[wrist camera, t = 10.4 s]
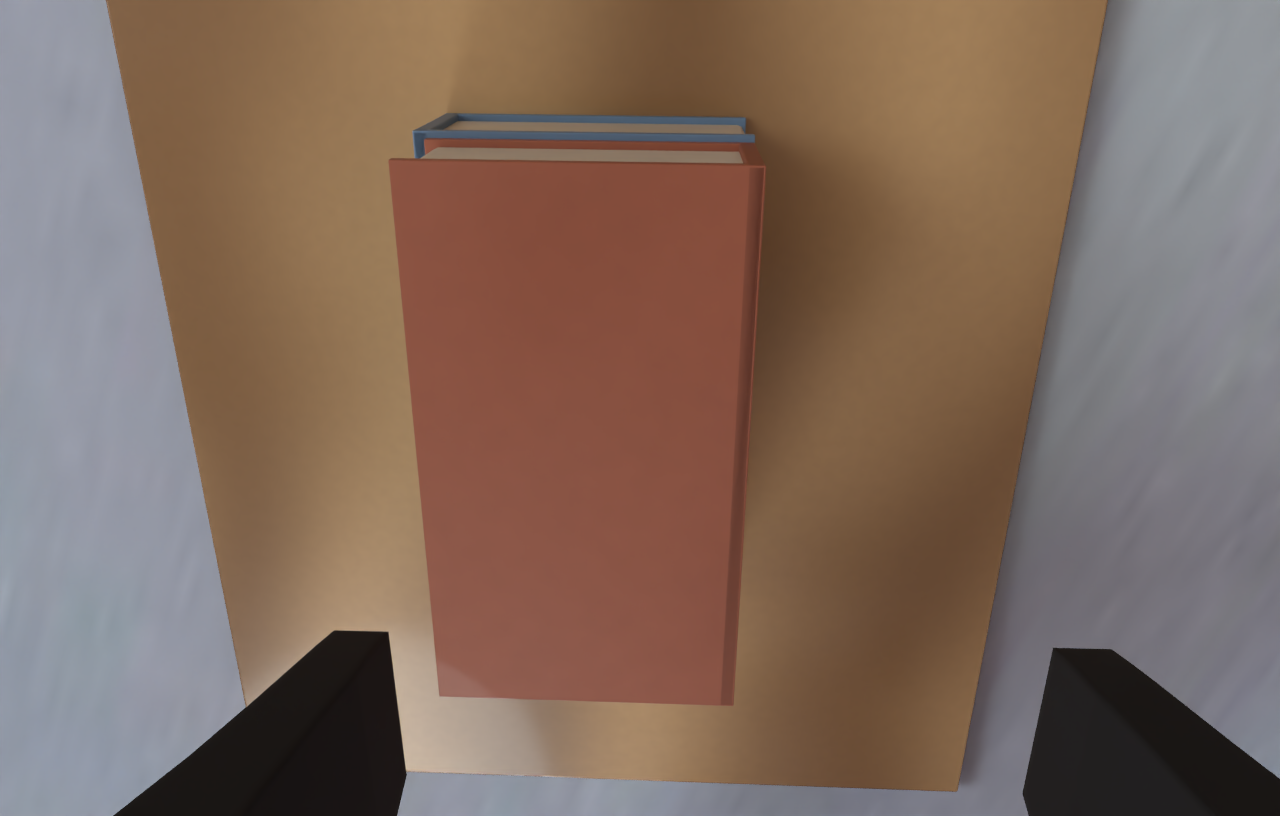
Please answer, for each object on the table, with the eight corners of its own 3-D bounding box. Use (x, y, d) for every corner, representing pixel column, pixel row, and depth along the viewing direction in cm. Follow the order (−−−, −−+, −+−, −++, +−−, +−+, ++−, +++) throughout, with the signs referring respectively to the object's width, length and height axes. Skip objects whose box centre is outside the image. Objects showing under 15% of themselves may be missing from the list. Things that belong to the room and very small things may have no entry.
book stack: (477, 569, 20) (428, 710, 16) (445, 113, 16) (370, 151, 12) (722, 576, 19) (732, 721, 16) (745, 116, 16) (767, 156, 12)
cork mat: (264, 754, 22) (257, 767, 22) (65, -273, 14) (49, -280, 14) (953, 779, 22) (957, 792, 21) (1149, -270, 14) (1162, -278, 13)
